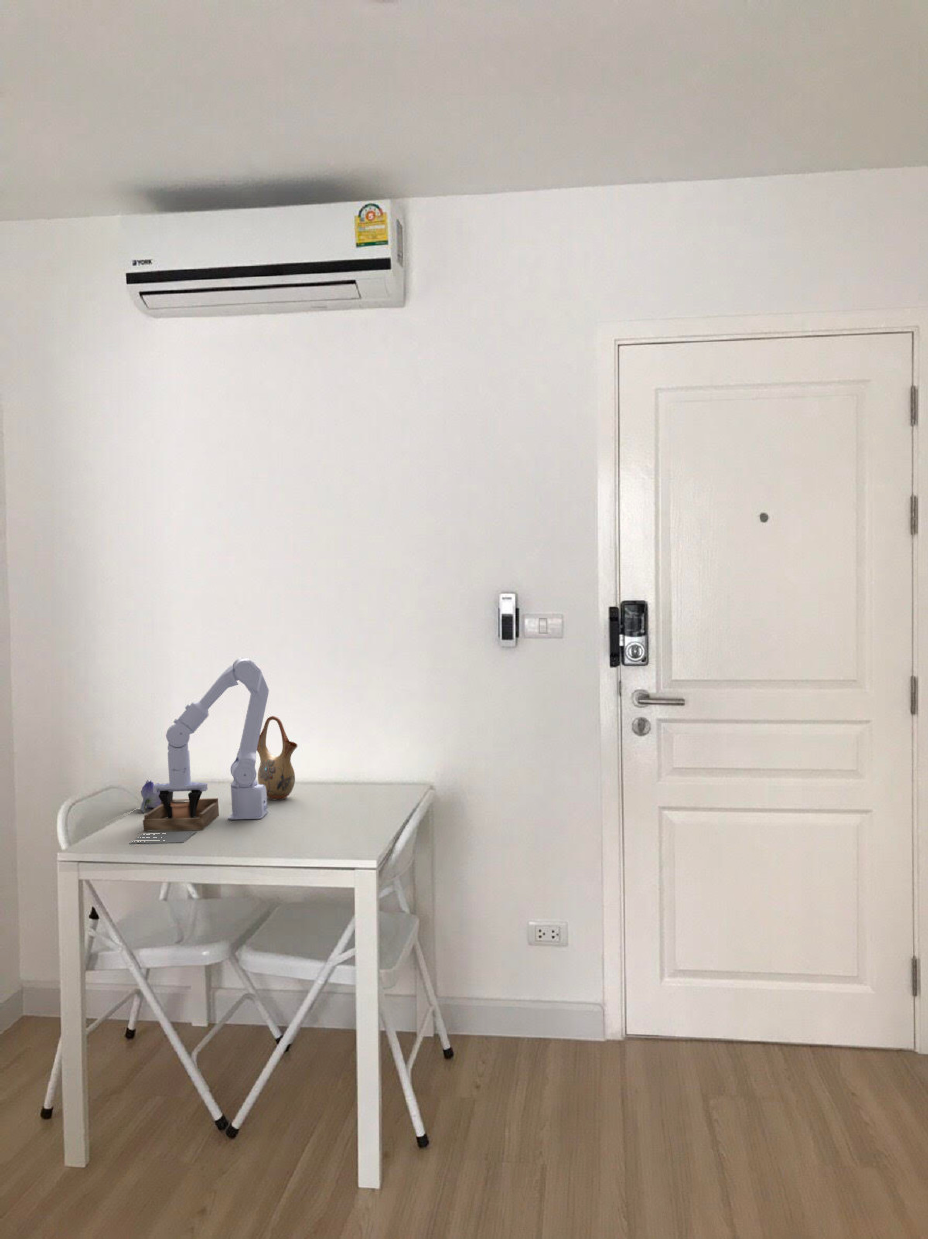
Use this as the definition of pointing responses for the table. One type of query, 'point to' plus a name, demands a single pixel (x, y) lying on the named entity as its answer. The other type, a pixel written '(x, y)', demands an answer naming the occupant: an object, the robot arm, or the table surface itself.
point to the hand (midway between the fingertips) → (181, 817)
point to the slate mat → (165, 837)
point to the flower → (149, 796)
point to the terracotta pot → (180, 808)
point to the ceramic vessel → (276, 765)
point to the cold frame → (204, 811)
